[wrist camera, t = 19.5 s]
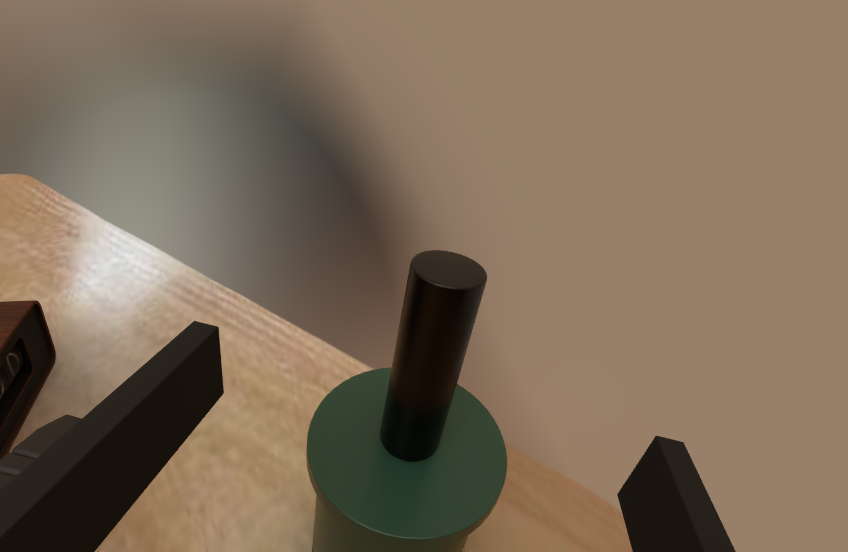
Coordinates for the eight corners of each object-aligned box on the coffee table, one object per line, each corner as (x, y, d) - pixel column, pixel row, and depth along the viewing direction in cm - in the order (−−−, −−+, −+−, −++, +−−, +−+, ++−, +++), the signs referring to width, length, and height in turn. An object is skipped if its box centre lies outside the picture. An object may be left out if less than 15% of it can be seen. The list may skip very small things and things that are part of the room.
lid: (501, 400, 24) (559, 245, 19) (504, 579, 15) (606, 387, 11) (344, 361, 24) (362, 200, 19) (267, 516, 16) (265, 305, 11)
